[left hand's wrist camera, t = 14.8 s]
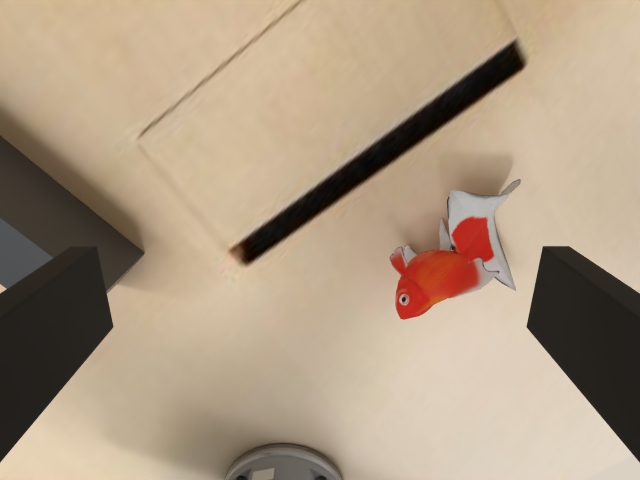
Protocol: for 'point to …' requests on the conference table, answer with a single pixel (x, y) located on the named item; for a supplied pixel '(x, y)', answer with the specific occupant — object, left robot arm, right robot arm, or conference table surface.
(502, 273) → the fish
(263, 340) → the conference table surface
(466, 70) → the conference table surface
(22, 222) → the bar
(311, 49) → the conference table surface
